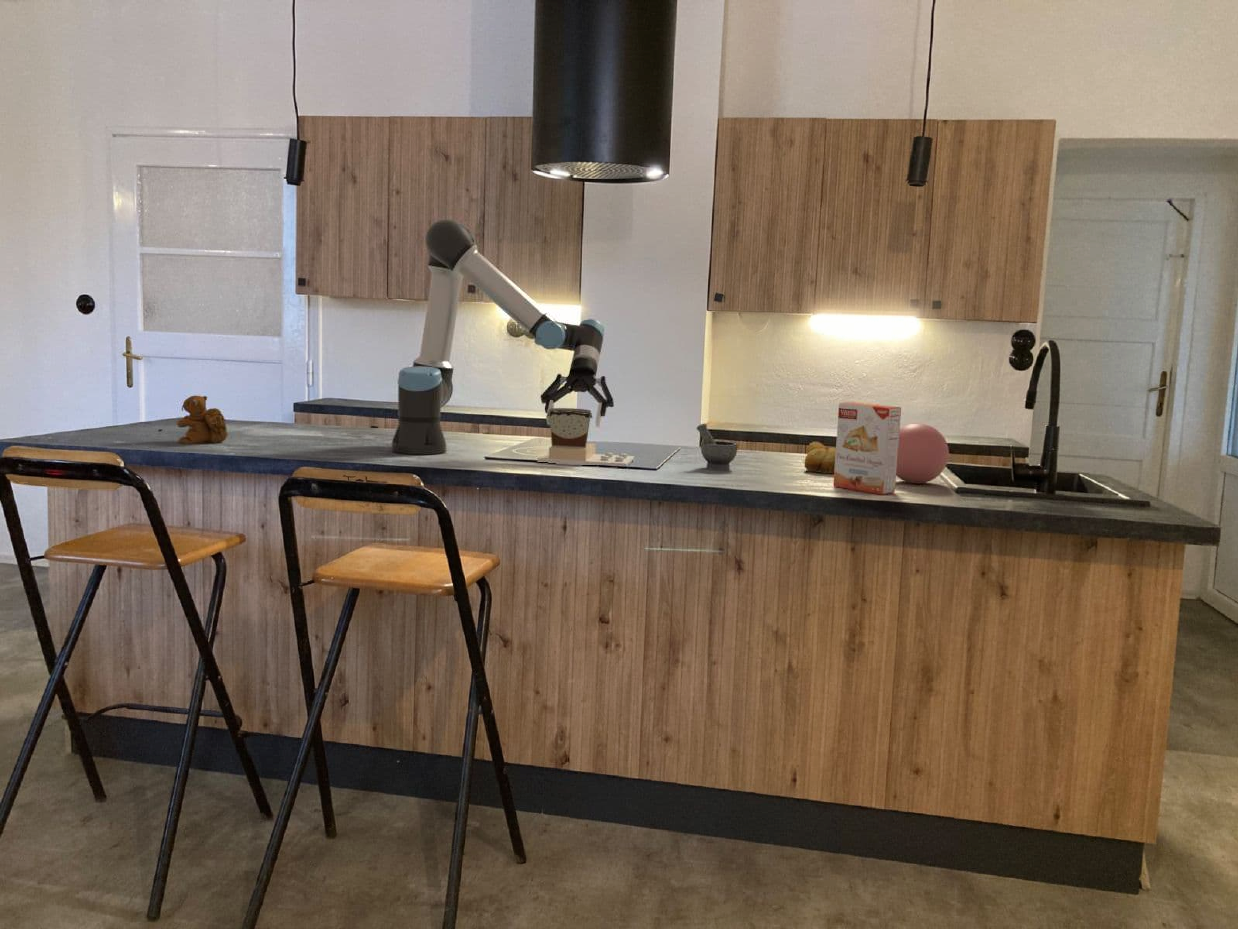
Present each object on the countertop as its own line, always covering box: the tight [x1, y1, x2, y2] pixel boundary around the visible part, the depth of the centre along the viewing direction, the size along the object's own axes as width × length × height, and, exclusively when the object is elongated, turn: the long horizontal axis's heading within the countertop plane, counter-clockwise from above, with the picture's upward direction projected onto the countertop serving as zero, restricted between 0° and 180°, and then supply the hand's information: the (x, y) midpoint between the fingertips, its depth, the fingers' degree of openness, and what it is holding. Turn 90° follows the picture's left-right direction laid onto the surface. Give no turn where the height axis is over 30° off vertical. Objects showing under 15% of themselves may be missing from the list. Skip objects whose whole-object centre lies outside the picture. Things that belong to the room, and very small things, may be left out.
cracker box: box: [832, 401, 902, 496], centre depth 245 cm, size 14×6×21 cm, turn 45°
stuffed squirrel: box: [176, 395, 229, 445], centre depth 286 cm, size 10×14×13 cm
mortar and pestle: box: [696, 422, 739, 471], centre depth 274 cm, size 11×9×12 cm
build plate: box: [536, 442, 635, 466], centre depth 277 cm, size 24×16×4 cm, turn 82°
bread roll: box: [804, 440, 836, 474], centre depth 275 cm, size 13×10×8 cm
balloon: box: [896, 423, 950, 485], centre depth 263 cm, size 15×20×15 cm
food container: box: [546, 407, 593, 448], centre depth 276 cm, size 12×6×10 cm, turn 84°
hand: (572, 422), depth 275 cm, fingers open, 13 cm apart
